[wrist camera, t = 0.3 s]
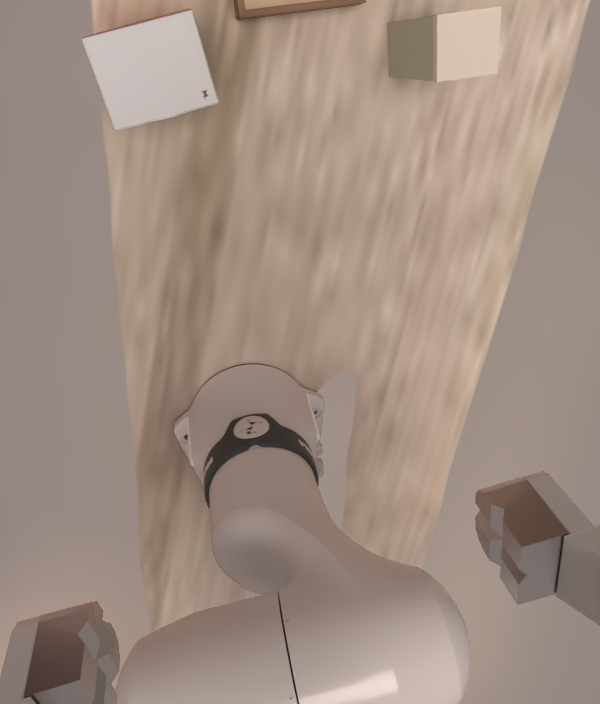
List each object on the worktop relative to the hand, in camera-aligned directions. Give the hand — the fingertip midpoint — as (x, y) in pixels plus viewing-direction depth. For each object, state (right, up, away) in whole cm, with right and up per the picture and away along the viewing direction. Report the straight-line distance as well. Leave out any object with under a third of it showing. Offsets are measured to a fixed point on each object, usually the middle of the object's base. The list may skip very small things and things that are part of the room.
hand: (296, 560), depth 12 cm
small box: (-13, +30, +39) cm, 51 cm away
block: (+11, +34, +42) cm, 55 cm away
